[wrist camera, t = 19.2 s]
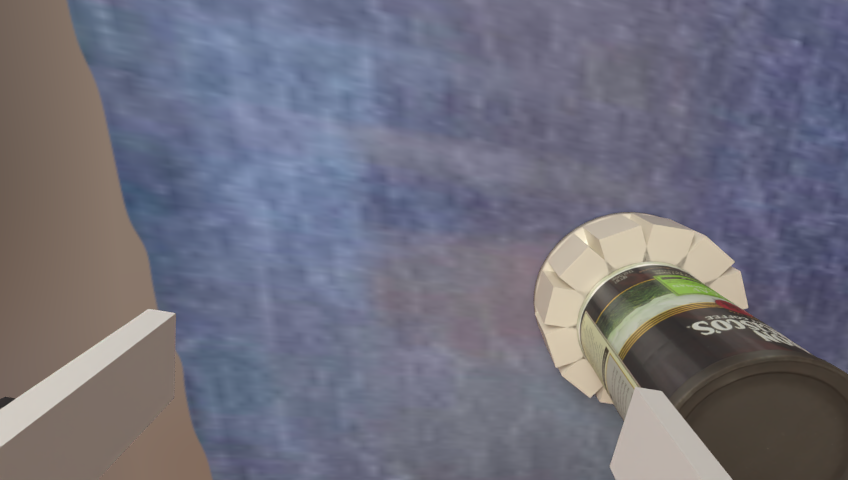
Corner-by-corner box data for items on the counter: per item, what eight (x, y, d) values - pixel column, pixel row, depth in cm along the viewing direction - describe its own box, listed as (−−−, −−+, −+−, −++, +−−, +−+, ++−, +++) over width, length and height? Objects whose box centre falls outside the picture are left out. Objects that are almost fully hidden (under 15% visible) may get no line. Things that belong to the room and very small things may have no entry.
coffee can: (605, 243, 34) (715, 329, 21) (735, 283, 35) (925, 393, 21) (554, 362, 37) (621, 508, 23) (675, 398, 37) (810, 561, 24)
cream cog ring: (555, 198, 38) (572, 210, 34) (733, 227, 39) (775, 244, 34) (517, 358, 42) (527, 390, 38) (678, 384, 43) (709, 419, 38)
